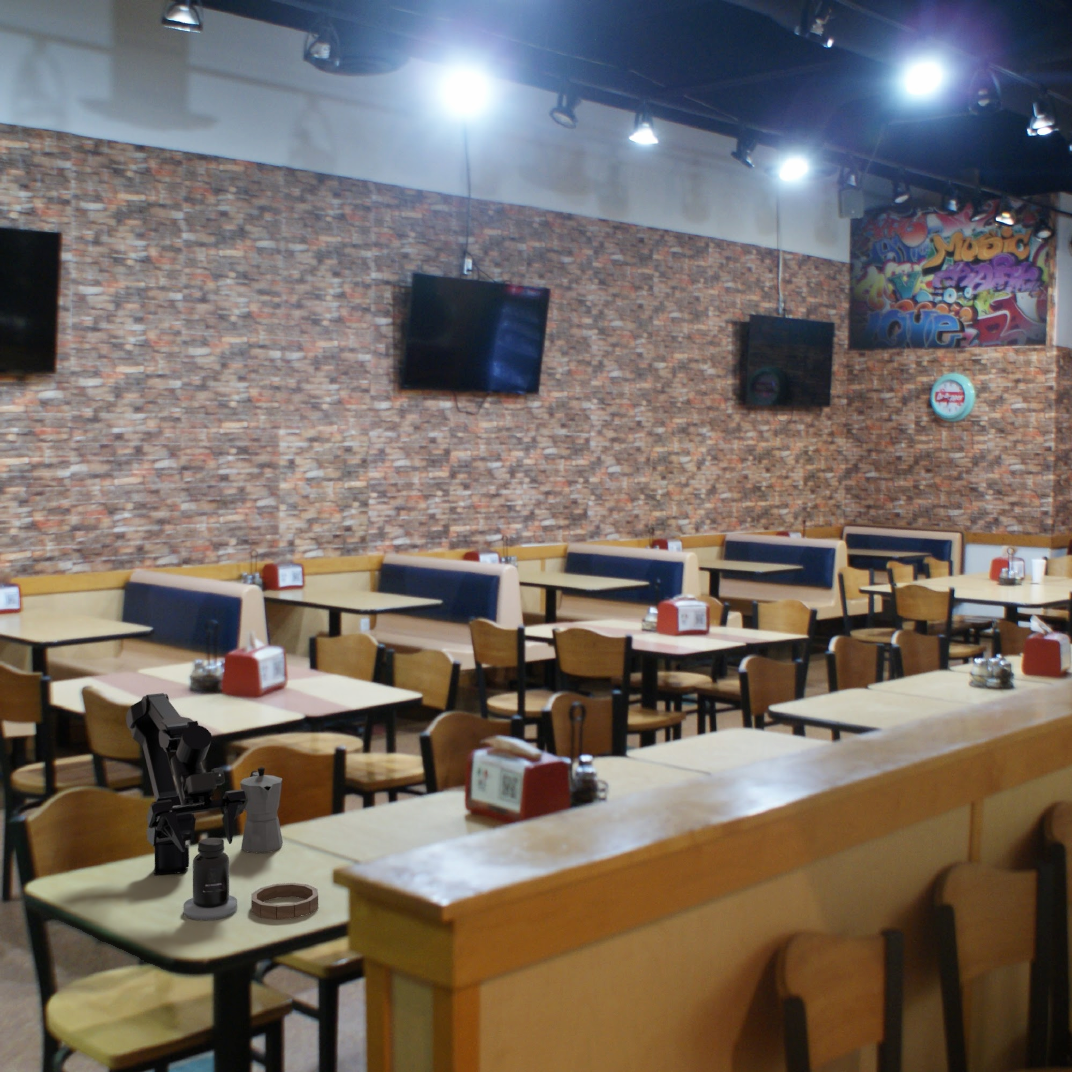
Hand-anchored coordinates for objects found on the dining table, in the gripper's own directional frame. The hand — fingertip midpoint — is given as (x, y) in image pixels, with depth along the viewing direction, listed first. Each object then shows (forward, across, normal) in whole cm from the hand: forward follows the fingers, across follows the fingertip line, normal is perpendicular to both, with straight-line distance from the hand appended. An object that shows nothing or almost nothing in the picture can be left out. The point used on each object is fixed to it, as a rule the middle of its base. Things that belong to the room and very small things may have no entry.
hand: (207, 846), depth 240 cm
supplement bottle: (+8, 0, +7) cm, 11 cm away
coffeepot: (-14, +22, +32) cm, 41 cm away
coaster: (+10, 0, +8) cm, 12 cm away
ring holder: (+14, +13, +4) cm, 19 cm away
